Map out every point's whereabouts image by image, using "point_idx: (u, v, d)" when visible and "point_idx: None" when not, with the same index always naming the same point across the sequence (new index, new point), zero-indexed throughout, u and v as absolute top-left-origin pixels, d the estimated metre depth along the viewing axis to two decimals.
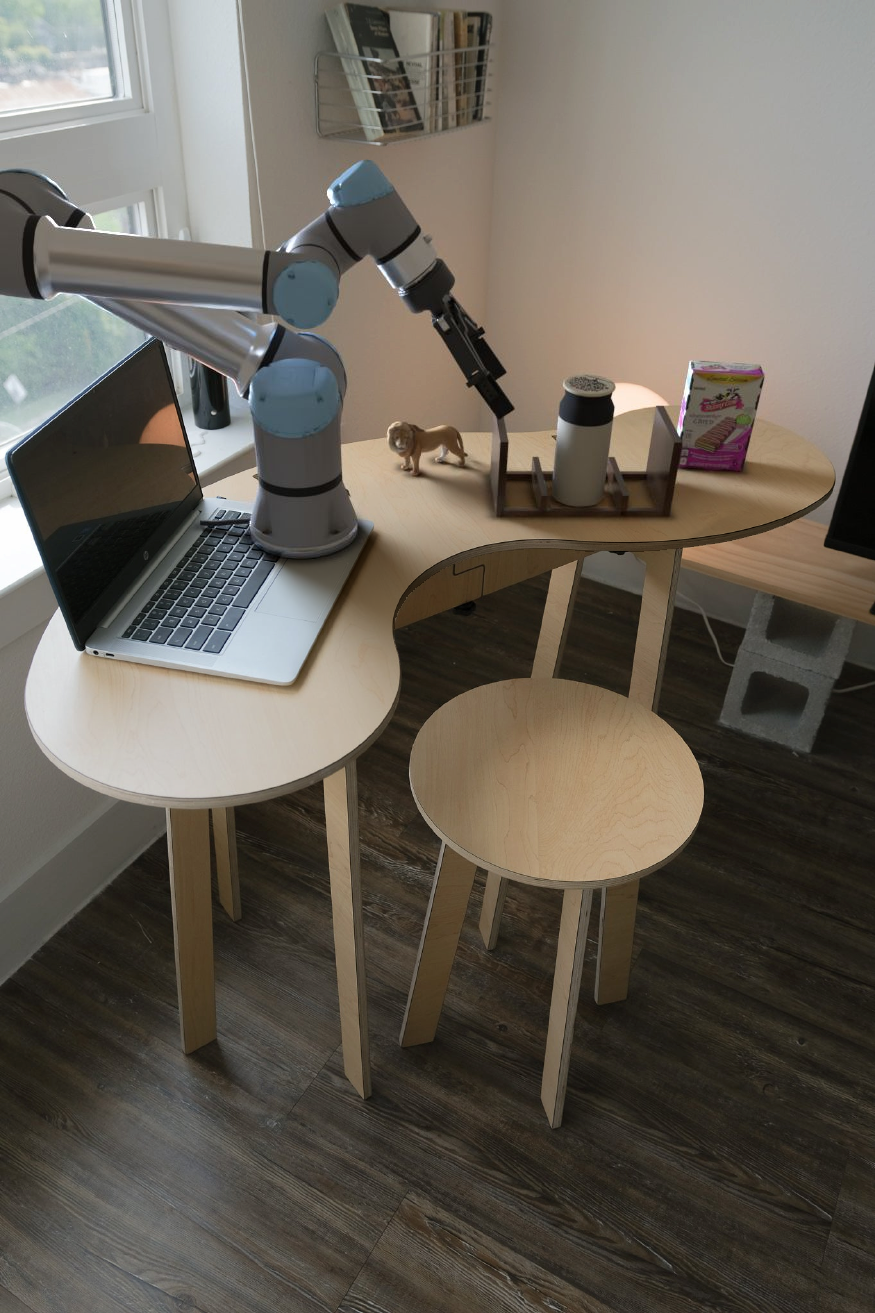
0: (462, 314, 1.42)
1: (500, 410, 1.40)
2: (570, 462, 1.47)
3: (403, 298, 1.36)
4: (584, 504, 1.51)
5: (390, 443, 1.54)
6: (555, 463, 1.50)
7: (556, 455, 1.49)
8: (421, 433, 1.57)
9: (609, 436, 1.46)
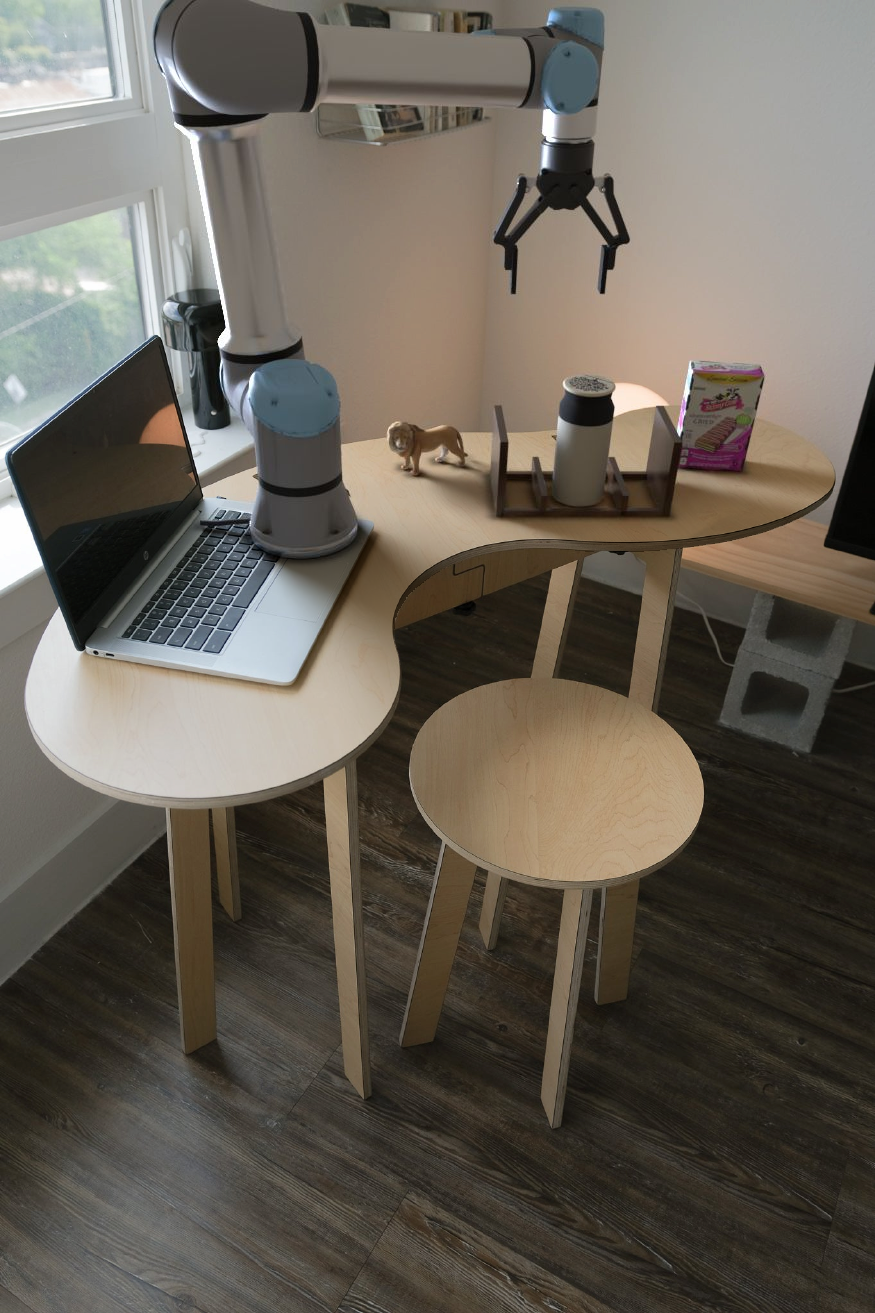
0: None
1: None
2: (570, 462, 1.47)
3: (584, 150, 1.39)
4: (584, 504, 1.51)
5: (390, 443, 1.54)
6: (555, 463, 1.50)
7: (556, 455, 1.49)
8: (421, 433, 1.57)
9: (609, 436, 1.46)
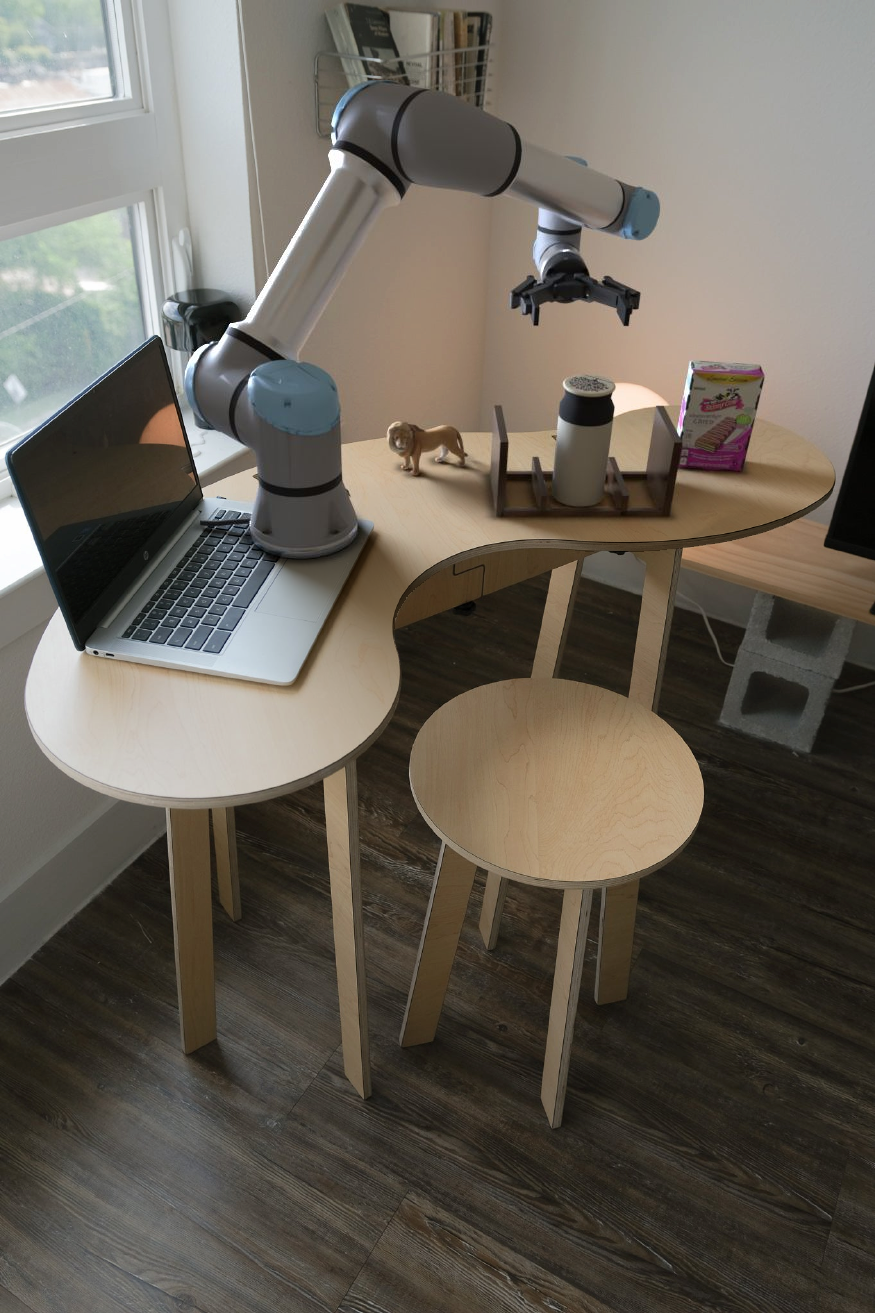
0: (554, 299, 1.60)
1: None
2: (570, 462, 1.47)
3: (578, 256, 1.63)
4: (584, 504, 1.51)
5: (390, 443, 1.54)
6: (555, 463, 1.50)
7: (556, 455, 1.49)
8: (421, 433, 1.57)
9: (609, 436, 1.46)
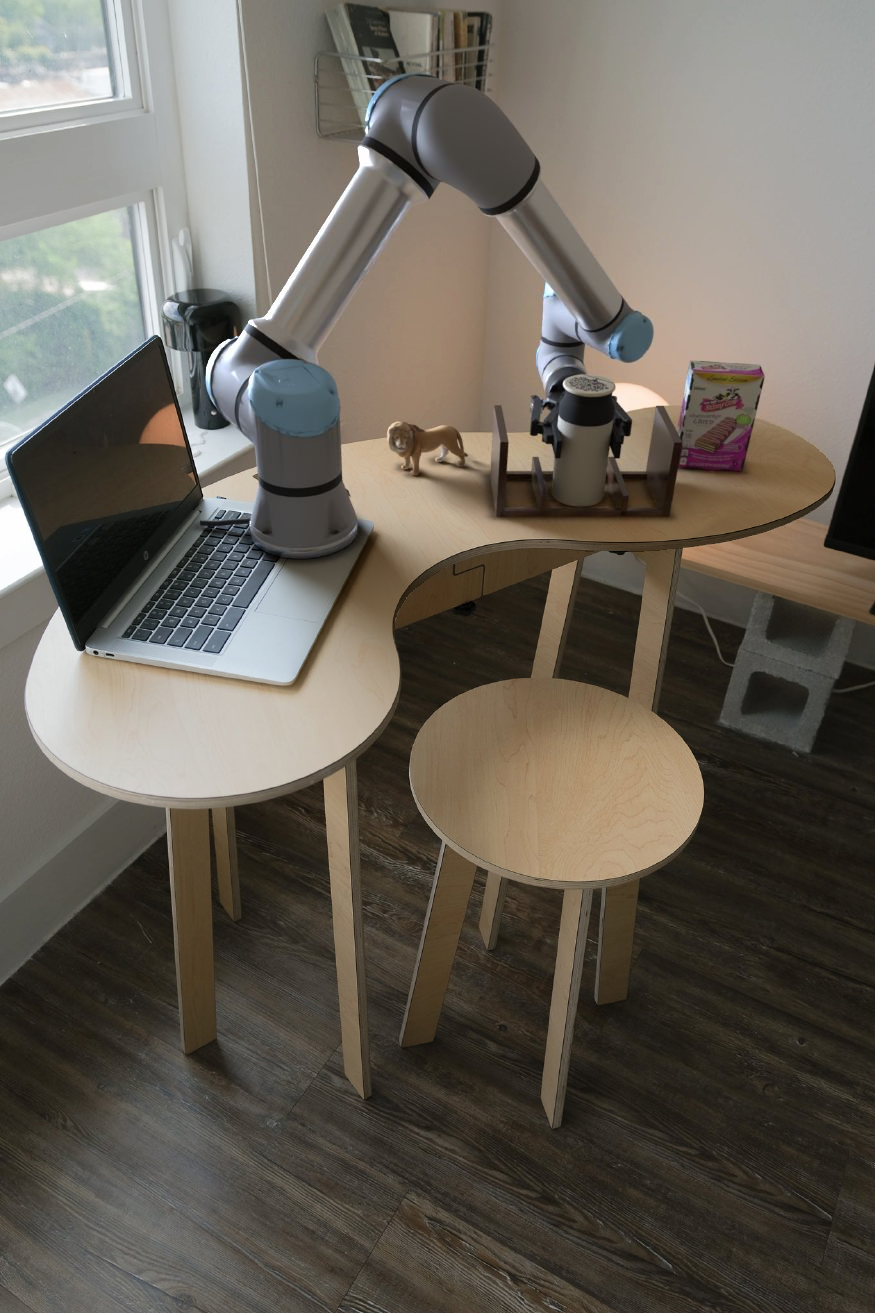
0: None
1: None
2: (570, 462, 1.47)
3: (582, 371, 1.60)
4: (584, 504, 1.51)
5: (390, 443, 1.54)
6: (555, 463, 1.50)
7: None
8: (421, 433, 1.57)
9: (609, 436, 1.46)
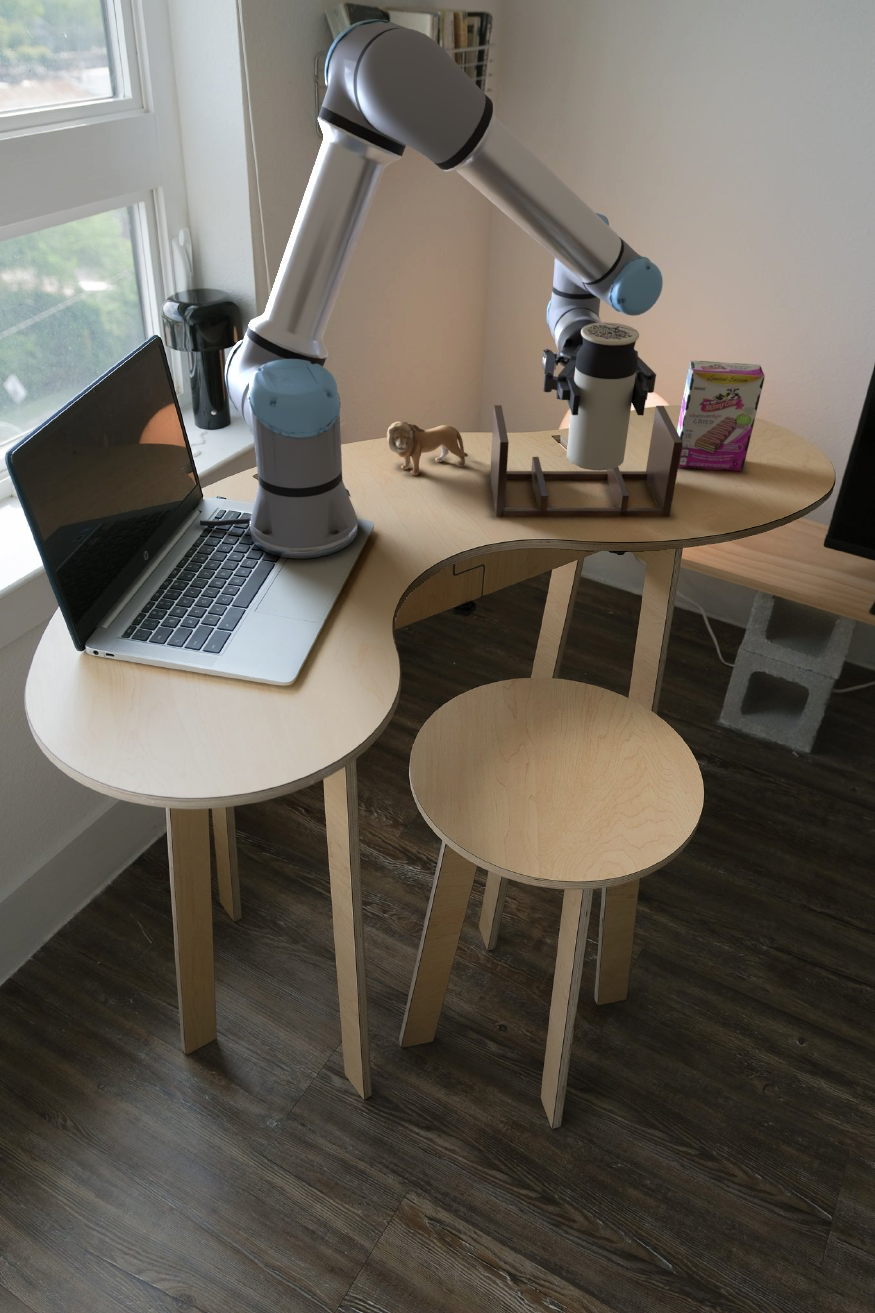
0: None
1: None
2: (588, 420, 1.33)
3: None
4: (603, 467, 1.36)
5: (390, 443, 1.54)
6: (571, 422, 1.36)
7: None
8: (421, 433, 1.57)
9: (631, 391, 1.32)
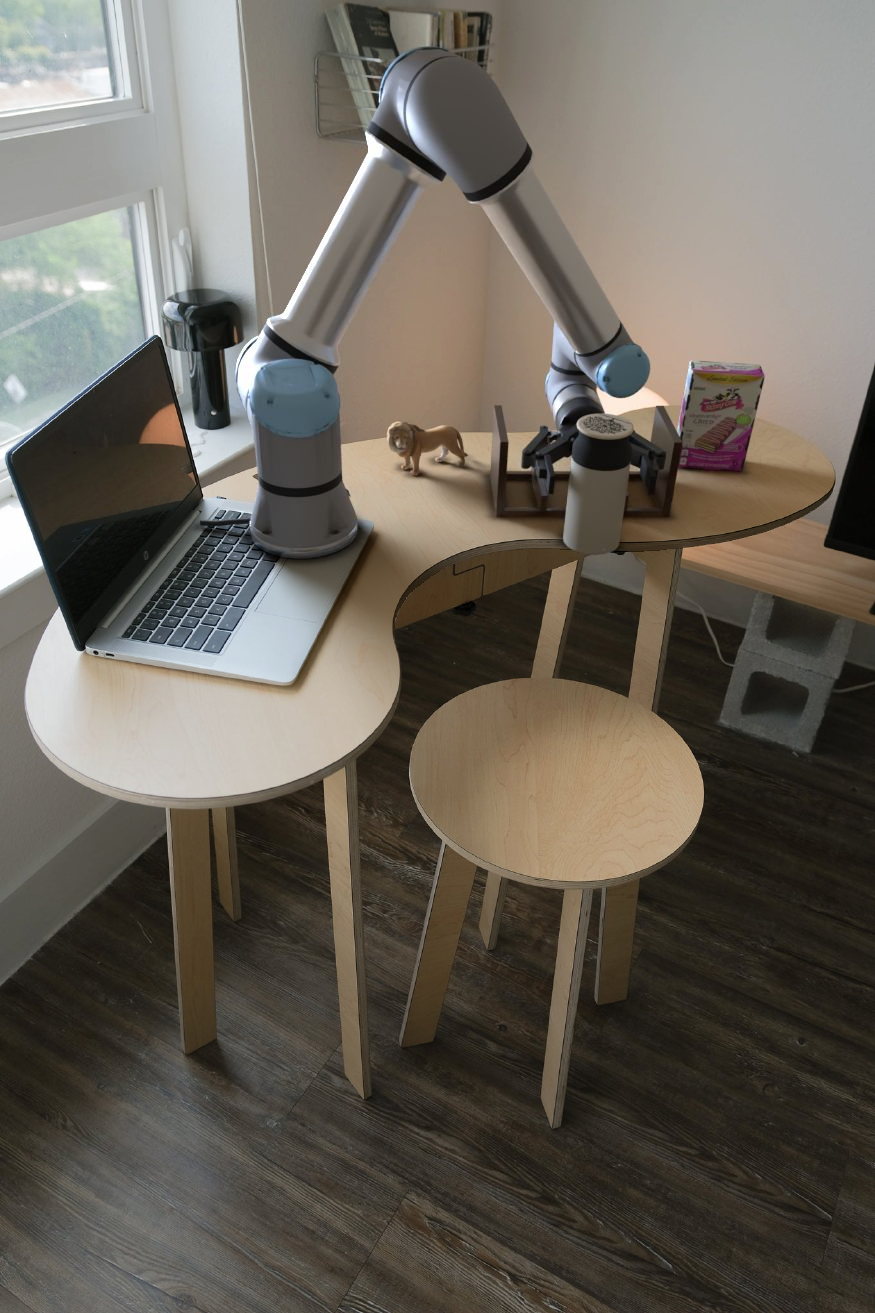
0: (570, 454, 1.45)
1: None
2: (584, 508, 1.36)
3: (596, 402, 1.48)
4: (599, 552, 1.39)
5: (390, 443, 1.54)
6: (567, 508, 1.39)
7: (569, 500, 1.38)
8: (421, 433, 1.57)
9: (626, 480, 1.35)
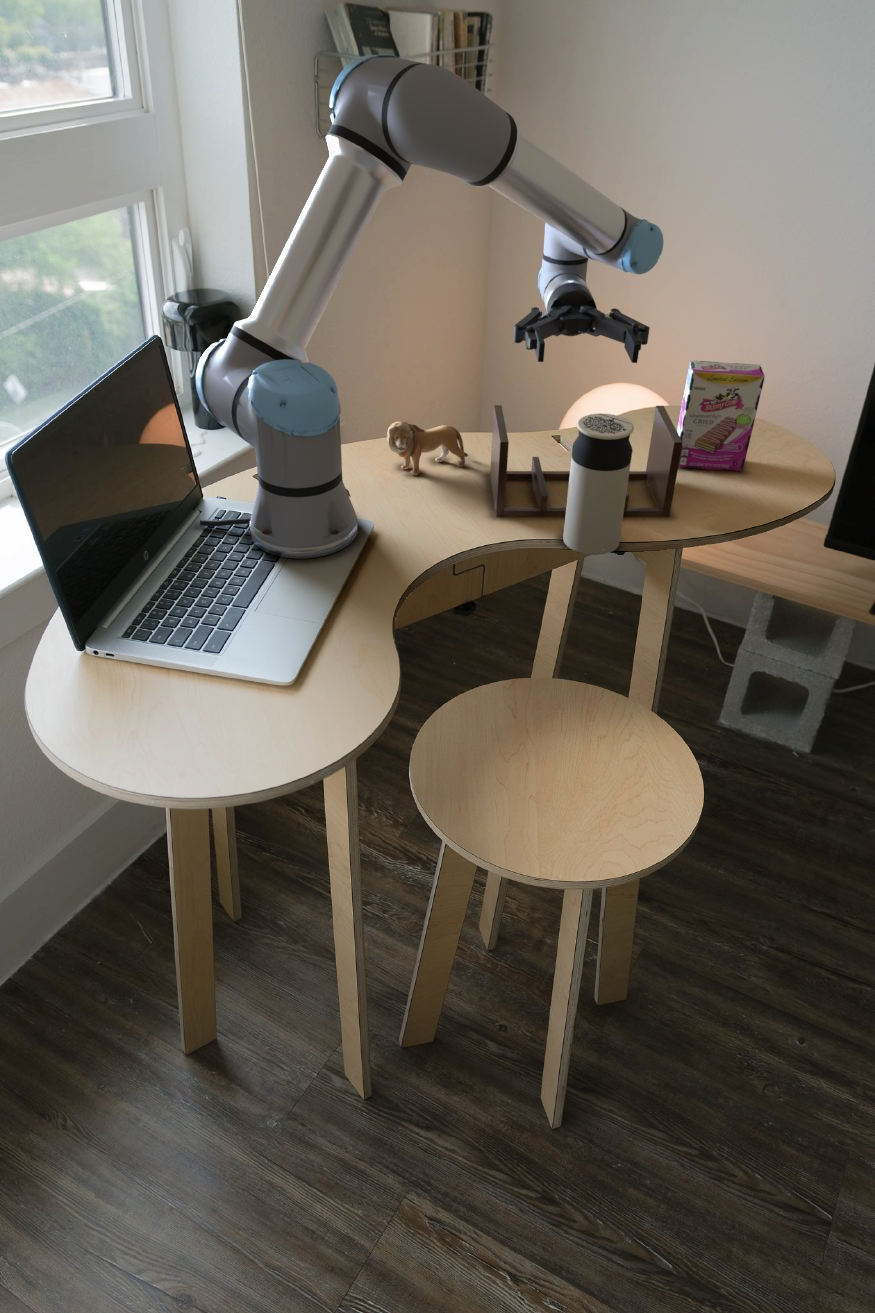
0: (559, 333, 1.54)
1: None
2: (584, 508, 1.36)
3: (585, 287, 1.58)
4: (599, 552, 1.39)
5: (390, 443, 1.54)
6: (567, 508, 1.39)
7: (569, 500, 1.38)
8: (421, 433, 1.57)
9: (626, 480, 1.35)
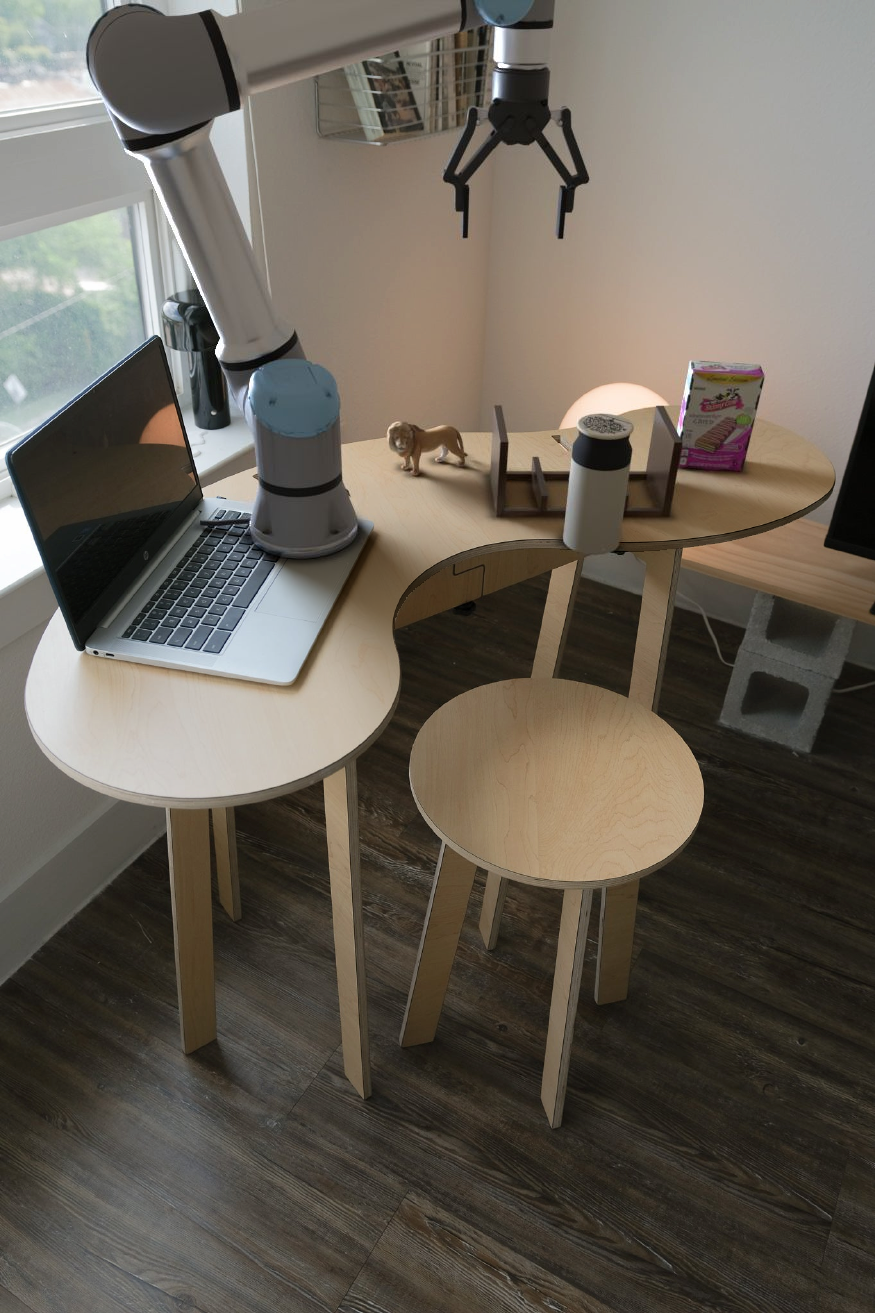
0: None
1: None
2: (584, 508, 1.36)
3: (538, 78, 1.29)
4: (599, 552, 1.39)
5: (390, 443, 1.54)
6: (567, 508, 1.39)
7: (569, 500, 1.38)
8: (421, 433, 1.57)
9: (626, 480, 1.35)
